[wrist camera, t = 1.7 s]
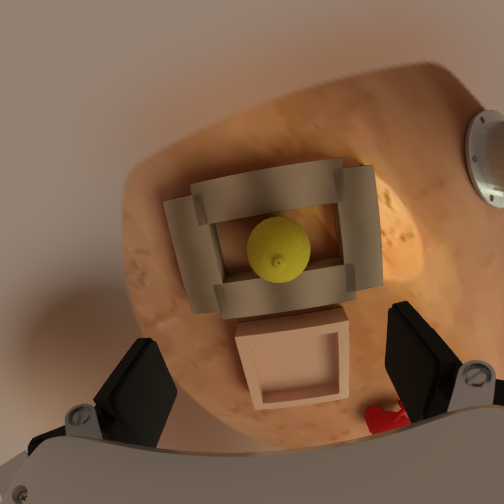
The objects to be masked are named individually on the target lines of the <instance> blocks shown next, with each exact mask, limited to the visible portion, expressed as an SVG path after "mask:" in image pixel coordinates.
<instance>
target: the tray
mask: <svg viewBox="0 0 504 504" xmlns="http://www.w3.org/2000/svg"><path fill="white" fill-rule="evenodd" d="M235 340H236V344H237V348H238V351H239V355H240V359H241V362H242V366H243V369H244V373H245V376H246V380H247V383H248V387H249V390H250V394H251V397H252V400H253V404H254V407H255V410H262V409H274V408H284V407H293V406H301V405H308V404H315V403H322V402H328V401H333V400H339V399H344V398H348V397H349V320H348V318H347V315H346V313H345V311H344V309H343V307H341V308H335V309H330V310H324V311H318V312H312V313H306V314H299V315H293V316H286V317H279V318H272V319H264V320H257V321H248V322H240V323H238V325H237V329H236V334H235Z"/></svg>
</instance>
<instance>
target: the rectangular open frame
mask: <svg viewBox="0 0 504 504" xmlns="http://www.w3.org/2000/svg"><path fill="white" fill-rule="evenodd" d="M190 190H191V195H187V196H183V197H179V198H174V199H171V200H167V201H164V202H163V205H164V209H165V214H166V218H167V222H168V226H169V231H170V235H171V239H172V243H173V246H174V250H175V254H176V258H177V262H178V265H179V269H180V273H181V276H182V280H183V283H184V287H185V290H186V294H187V297H188V300H189V304H190V307H191V310H192V314H200V313H210V312H219V311H220V314H221V318H222V320H223V319H232V318H241V317H249V316H257V315H265V314H272V313H279V312H286V311H293V310H299V309H306V308H312V307H318V306H324V305H329V304H335V303H341V302H346V301H351V300H356V291H357V290H363V289H368V288H373V287H378V286H383V267H382V244H381V229H380V217H379V207H378V197H377V189H376V181H375V174H374V168H373V165H364V166H355V167H346V168H343V165H342V160H341V158H333V159H325V160H318V161H311V162H304V163H297V164H291V165H284V166H278V167H272V168H267V169H261V170H256V171H250V172H245V173H240V174H235V175H230V176H225V177H221V178H216V179H211V180H207V181H202V182H198V183H194V184H190ZM330 203H333V210H334V218H335V226H336V234H337V243H338V253H339V257H335V258H329V259H323V260H317V261H311V262H308V263H307V266H306V268H305V269H304V270H303V272H302V273H301V274H300V275H299V276H297V277H296V278H295V279H293V280H291V281H288V282H284V283H273V282H269V281H266V280H265V279H263V278H261V277H260V276H259V275H257V274H256V273H255V272H254V271H247V272H240V273H234V274H226V270H225V266H224V261H223V257H222V253H221V248H220V244H219V239H218V235H217V230H216V226H215V223H217V222H223V221H228V220H234V219H239V218H245V217H250V216H256V215H262V214H268V213H273V212H279V211H285V210H292V209H298V208H304V207H310V206H317V205H323V204H330Z"/></svg>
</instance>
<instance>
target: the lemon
mask: <svg viewBox="0 0 504 504" xmlns="http://www.w3.org/2000/svg"><path fill="white" fill-rule="evenodd" d="M310 250H311V249H310V242H309V239H308V236H307V234H306V232H305V231H304V229H303V228H302V227H301V226H300V225H299V224H298V223H296V222H295V221H294V220H291V219H289V218H286V217H279V216H278V217H271V218H268V219H265V220H263V221H262V222H260V223H259V224H257V226H256V227H255V228H254V229H253V230H252V232H251V234H250V236H249V238H248V242H247V257H248V260H249V263H250V266H251V267H252V269H253V270H254V272H255V273H256V274H257V275H259V276H260V277H261V278H263V279H265V280H266V281H269V282H273V283H284V282H288V281H291V280H293V279H295V278H296V277H297V276H299V275H300V274H301V273H302V272H303V270H304V269H305V268H306V266H307V263H308V261H309V258H310Z"/></svg>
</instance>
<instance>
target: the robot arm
mask: <svg viewBox="0 0 504 504" xmlns="http://www.w3.org/2000/svg"><path fill="white" fill-rule="evenodd" d="M465 154H466V163H467V168H468V172H469V175H470V178H471V181H472V183H473V186H474V188H475V190H476V191H477V193H478V195H479V196H480V197H481V198H482V199H483V201H484V202H486V203H487V204H489V205H490V206H493V207H496V208H504V116H503V115H502V114H500V113H499V112H496V111H494V110H485V111H481V112H479V113H477V114H476V115H475V116H474V117H473V118H472V120H471V122H470V124H469V126H468V129H467V133H466V140H465ZM385 368H386V371H387V373H388V375H389V377H390V379H391V381H392V383H393V385H394V387H395V389H396V392H397V394H398V396H399V398H400V400H401V402H402V404H403V407H404V409H405V411H406V413H407V415H408V418H409V420H410V422H411V424H409V425H406V426H403V427H400V428H396V429H393V430H389V431H386V432H382V433H378V434H374V435H370V436H366V437H362V438H358V439H353V440H348V441H343V442H338V443H333V444H327V445H321V446H314V447H307V448H299V449H290V450H280V451H268V452H245V453H214V452H192V451H180V450H169V449H160V448H156V446H157V444H158V441H159V438H160V436H161V433H162V431H163V428H164V426H165V423H166V421H167V418H168V416H169V413H170V411H171V408H172V406H173V403H174V401H175V398H176V396H177V388H176V386H175V384H174V382H173V379H172V377H171V375H170V373H169V371H168V368H167V366H166V364H165V361H164V359H163V357H162V354H161V352H160V350H159V347H158V345H157V343H156V342H155V341H153V340H152V339H151V338H138V339H137V340H136V341H135V342H134V344H133V345H132V346H131V348H130V349H129V350H128V352H127V353H126V354H125V356H124V357H123V359H122V360H121V361H120V363H119V364H118V365H117V367H116V368H115V369H114V371H113V372H112V374H111V375H110V376H109V378H108V379H107V381H106V382H105V383H104V385H103V386H102V388H101V389H100V391H99V392H98V393H97V395H96V396H95V398H94V399H93V400H94V402H95V403H96V405H95V407H93V406H92V405H90V404H80V405H77V406H75V407H73V408H72V409H70V410H69V412H68V413H67V414H66V416H65V425H64V426H62V427H59V428H57V429H54V430H52V431H49V432H47V433H44V434H41V435H39V436H37V437H34V438H33V439H32V440H31V441H30V443H29V445H28V453H27V452H26V451H23V452H22V453H20V454H19V455H17V456H16V457H14V458H13V459H11V460H9V461H8V462H6V463H5V464H3V465H1V466H0V494H1V496H2V501H1V503H0V504H504V380H499V379H496V374H495V371H494V369H493V367H492V366H491V365H490V364H488V363H486V362H484V361H480V360H473V361H468V362H466V363H465V364H462V362H461V361H460V360H459V359H458V357H457V356H456V355H455V354H454V353H453V351H452V350H451V349H450V348H449V347H448V345H447V344H446V343H445V342H444V341H443V340H442V338H441V337H440V336H439V335H438V334H437V333H436V331H435V330H434V329H433V328H431V327H430V326H429V324H428V323H427V322H426V321H425V320H424V319H423V318H422V317H421V316H420V314H419V313H418V312H417V311H416V310H415V309H414V308H413V307H412V306H411V305H410V303H409V302H408V301H403V302H399V303H394V304H393V305H392V308H389V310H388V325H387V341H386V354H385Z"/></svg>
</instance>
